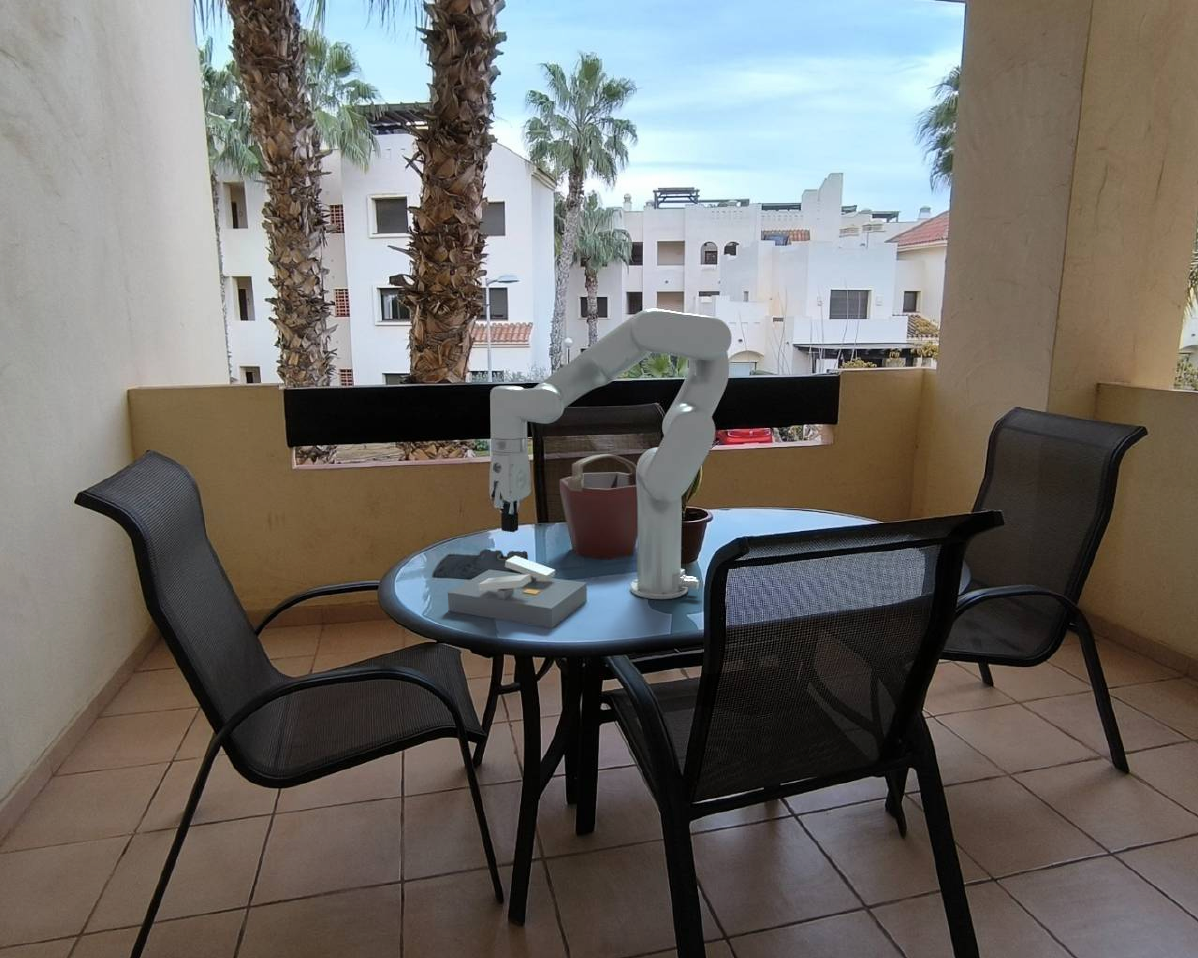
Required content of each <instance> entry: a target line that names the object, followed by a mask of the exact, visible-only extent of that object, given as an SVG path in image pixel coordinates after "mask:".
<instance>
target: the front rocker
mask: <svg viewBox="0 0 1198 958" xmlns="http://www.w3.org/2000/svg"><path fill="white" fill-rule="evenodd" d="M529 582H531V577H530V574H528V575H518V576H507V577H496V578H488V579H487V580H485V581H483V582H481V583H479V584H478V586H479V590H480V591H484V590H495V589H507V588H519V587H523V586H524V585H526V584H527V583H529Z"/></svg>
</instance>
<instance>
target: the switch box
mask: <svg viewBox="0 0 1198 958" xmlns="http://www.w3.org/2000/svg"><path fill="white" fill-rule="evenodd" d="M518 575H526V574H519V573H511V572H504V571H497V570H490V569H489V570H488V571H486V572H484V573H482V574H480V575H478V576H477V577H475V578H473V579H471V580H467V581H466V582H464V583H462V584H460V585H458V586H457V587H455V588H453V589H451V590H450V591H448V592H447V598H448V599H447V602H448V603H447V604H448V611H449V612H455V613H460V614H466V615H472V616H478V617H483V618H491V619H496V620H501V621H507V622H512V623H513V622H514V623H519V624H526V625H531V626H536V627H537V626H538V627H544V628H549V629H553V628H555V627H556V626H557V625H558V624H559V623H561V622H562V621H563V620H564V619H566V618H567V617H569V615H571V614H572V613H574V612H575V611H576V610H577V609H578V608H579V607H581V606H582V605H584V604H585V603H586V602H587V600H588V598H587V597H588V596H587V595H588V594H587V593H588V591H587V590H588V589H587V586H588V585H587V582H585V581H583V582H582V581H576V580H569V579H561V578H554V577H552V578H550V579H549V580H547V581H546V582H545V581H542V580H540V579H537V578H534V577H532V576H530V577H531V582H529V583H527V584H526V585H524V586H523V587H519V588H507V589H495V590H484V591H480V590H479V586H478V584H479V583H481V582H483V581H485V580H487V579H488V578H496V577H507V576H518Z"/></svg>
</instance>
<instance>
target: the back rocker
mask: <svg viewBox="0 0 1198 958" xmlns="http://www.w3.org/2000/svg"><path fill="white" fill-rule="evenodd" d="M505 567H507V568H510V569H513V570H515V571H518V572H521V573H523V574H526V575H528V574H530V576H532V577H534V578H537V579H540V580H542V581H545V582H546V581H547V580H549V579H550V578H554V577H555V574H556V569H554V568H551V567H548V566H545V565H543V564H540V563H538V562H536V561H532V560H529V559H528V560H526V559H524V558H521V557H518V556H513V557H512V558H510V559H508V560H506V563H505Z"/></svg>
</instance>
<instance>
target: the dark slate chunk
mask: <svg viewBox="0 0 1198 958" xmlns="http://www.w3.org/2000/svg"><path fill="white" fill-rule="evenodd" d="M478 553H479V554H461V553H460V554H459V553H447V555H446V556H444V557H442V559H441V560H440V561H439V562H438V564H437V565H436V567H435V569H434V571H432V577H433V578H435V577H436V578H437V579H453V580H454V579H455V580H467V581H469V580H471V579H473V578H475V577H477V576H478V575H480V574H482V573H484V572H486V571H488V570H489V569H490V570H497V571H504V572H511V573H519V574H523V573H521V572H518V571H515V570H513V569H510V568H507V567H505V563H506V560H508V559H510V558H512V557H513V556H518V557H521V558H524V559H526V560H529V556H528V552H527V551H526V550H524V551H519V550H517V551H514V550H509V551H508V552H507V555H506V556H505V555H504V554H503V551H502V550H491V549H486V548H485V549H483V550H481V551H480V552H478Z"/></svg>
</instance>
